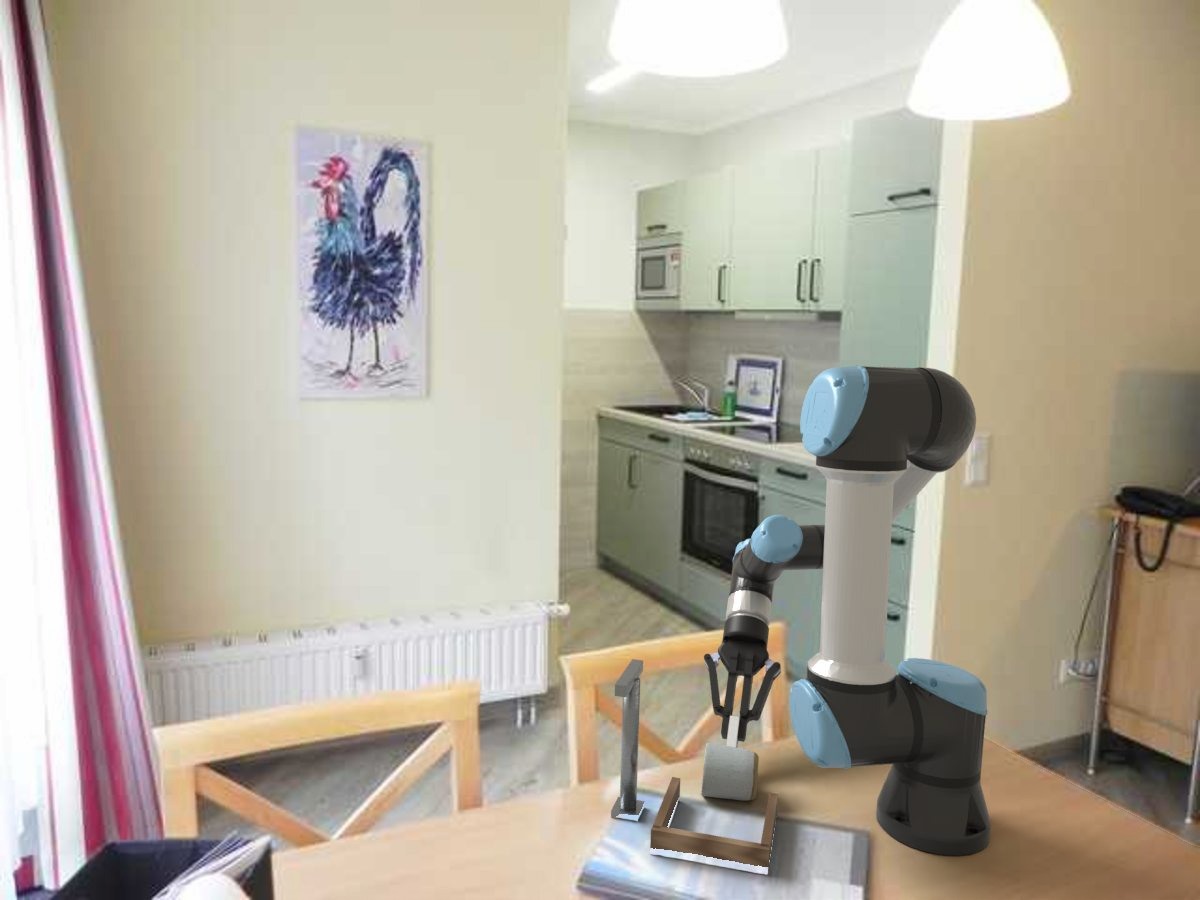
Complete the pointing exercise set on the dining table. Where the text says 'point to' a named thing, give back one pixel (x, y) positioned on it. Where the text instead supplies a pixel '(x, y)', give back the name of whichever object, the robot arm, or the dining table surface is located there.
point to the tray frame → (711, 843)
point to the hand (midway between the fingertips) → (730, 759)
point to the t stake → (629, 739)
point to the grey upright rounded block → (729, 772)
